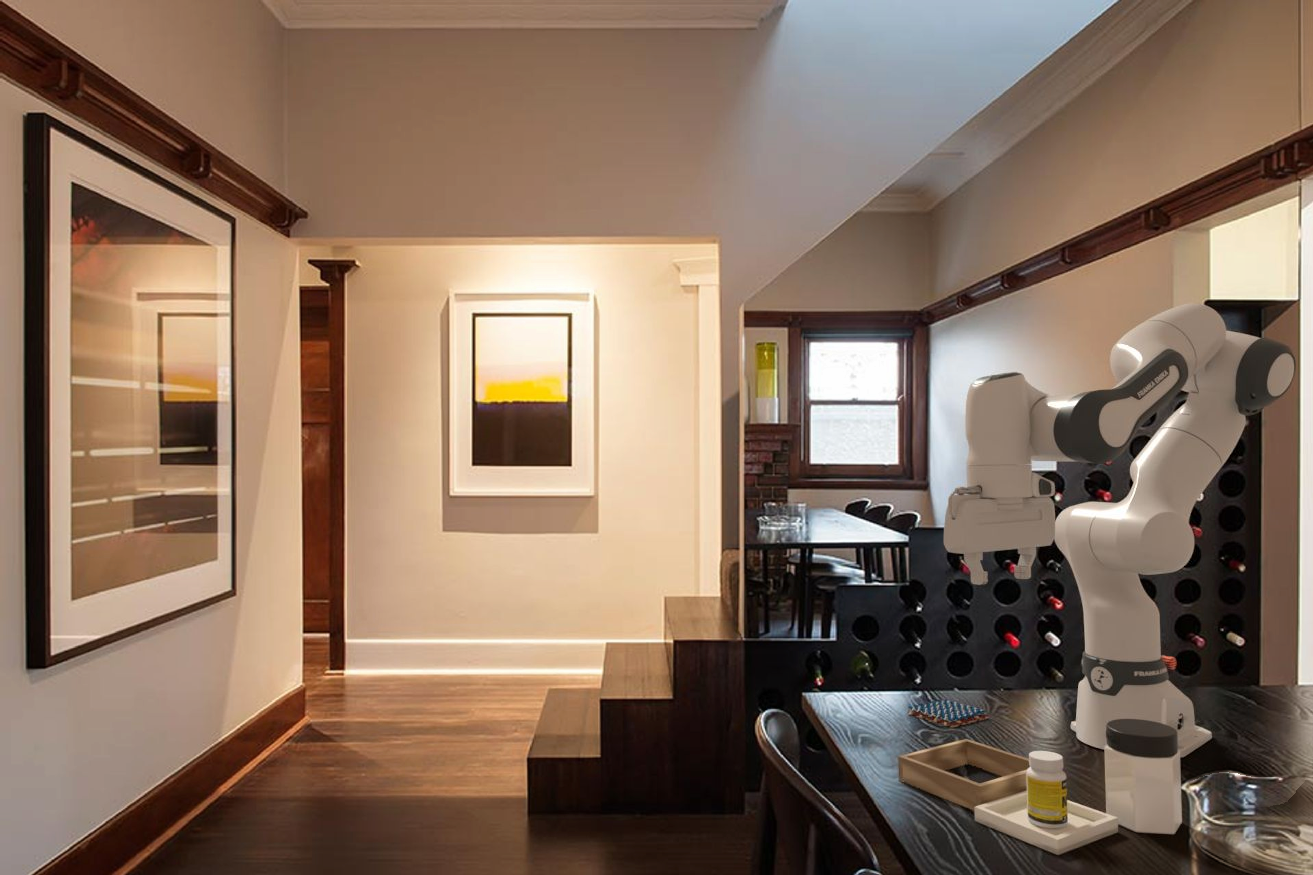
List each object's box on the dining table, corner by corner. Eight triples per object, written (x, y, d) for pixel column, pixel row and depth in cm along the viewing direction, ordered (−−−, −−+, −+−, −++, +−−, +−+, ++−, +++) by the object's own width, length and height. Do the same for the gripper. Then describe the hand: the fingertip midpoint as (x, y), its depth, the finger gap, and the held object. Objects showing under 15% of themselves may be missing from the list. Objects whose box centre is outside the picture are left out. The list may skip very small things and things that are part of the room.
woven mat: (953, 731, 156) (952, 719, 156) (905, 717, 165) (905, 706, 165) (991, 721, 161) (991, 709, 162) (943, 708, 170) (943, 697, 170)
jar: (1117, 803, 122) (1115, 713, 122) (1186, 818, 116) (1183, 724, 117) (1099, 824, 115) (1097, 729, 115) (1172, 841, 109) (1169, 742, 110)
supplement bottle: (1070, 831, 111) (1069, 762, 112) (1029, 827, 113) (1028, 760, 113) (1064, 816, 116) (1062, 750, 116) (1025, 812, 117) (1023, 747, 117)
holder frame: (966, 761, 139) (966, 738, 139) (1050, 790, 126) (1050, 765, 126) (898, 780, 131) (898, 756, 132) (981, 813, 119) (980, 786, 119)
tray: (1034, 801, 123) (1033, 787, 123) (1118, 831, 112) (1117, 817, 112) (974, 820, 116) (974, 806, 117) (1057, 854, 106) (1057, 839, 106)
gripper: (967, 487, 122) (970, 590, 121) (1062, 483, 132) (1064, 577, 132) (931, 486, 127) (933, 584, 127) (1025, 482, 138) (1027, 573, 137)
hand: (1001, 581), depth 129 cm, fingers open, 8 cm apart
